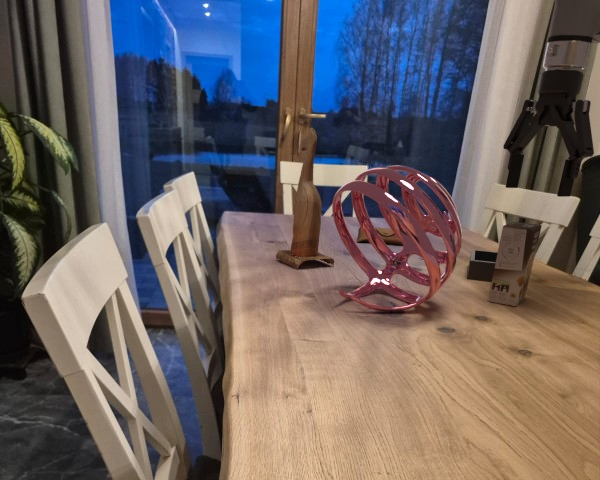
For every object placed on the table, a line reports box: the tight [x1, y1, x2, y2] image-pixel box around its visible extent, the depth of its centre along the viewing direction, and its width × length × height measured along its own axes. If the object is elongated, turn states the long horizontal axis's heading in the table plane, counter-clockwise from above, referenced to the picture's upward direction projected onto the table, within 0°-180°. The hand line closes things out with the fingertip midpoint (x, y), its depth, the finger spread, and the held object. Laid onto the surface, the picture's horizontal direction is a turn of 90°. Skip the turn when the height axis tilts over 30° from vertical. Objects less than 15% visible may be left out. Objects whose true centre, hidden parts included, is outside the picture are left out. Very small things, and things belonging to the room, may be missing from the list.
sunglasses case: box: [356, 226, 403, 247], centre depth 180 cm, size 18×7×7 cm
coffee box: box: [487, 221, 543, 307], centre depth 124 cm, size 9×6×16 cm
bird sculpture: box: [275, 127, 335, 270], centre depth 142 cm, size 11×12×32 cm
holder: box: [466, 248, 498, 283], centre depth 147 cm, size 12×15×5 cm
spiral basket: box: [331, 164, 463, 313], centre depth 114 cm, size 28×28×27 cm
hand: (536, 192), depth 115 cm, fingers open, 13 cm apart
